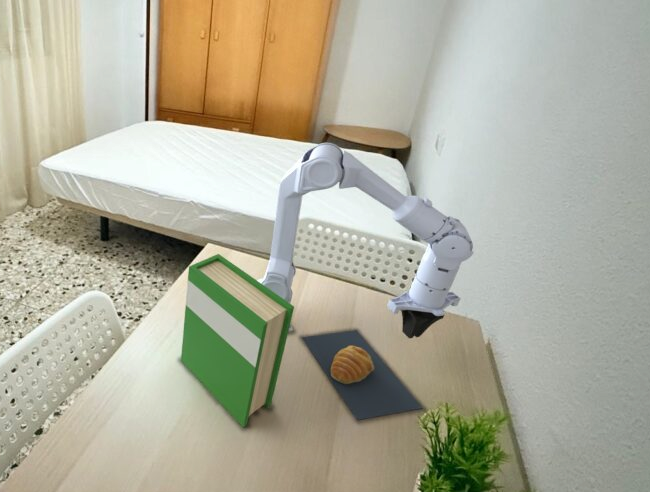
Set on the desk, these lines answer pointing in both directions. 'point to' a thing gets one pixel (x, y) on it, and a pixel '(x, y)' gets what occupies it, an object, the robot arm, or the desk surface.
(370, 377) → the napkin
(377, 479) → the desk surface
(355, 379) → the pastry
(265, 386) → the hardback book
